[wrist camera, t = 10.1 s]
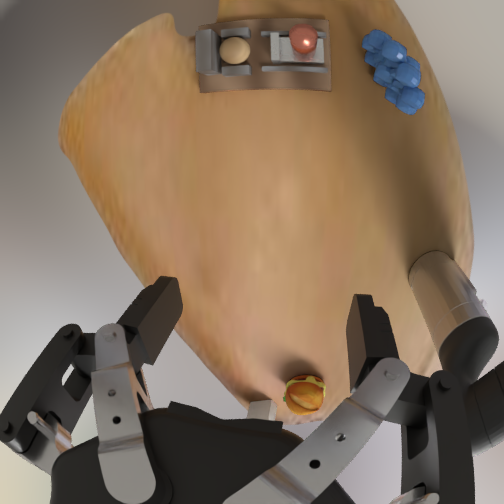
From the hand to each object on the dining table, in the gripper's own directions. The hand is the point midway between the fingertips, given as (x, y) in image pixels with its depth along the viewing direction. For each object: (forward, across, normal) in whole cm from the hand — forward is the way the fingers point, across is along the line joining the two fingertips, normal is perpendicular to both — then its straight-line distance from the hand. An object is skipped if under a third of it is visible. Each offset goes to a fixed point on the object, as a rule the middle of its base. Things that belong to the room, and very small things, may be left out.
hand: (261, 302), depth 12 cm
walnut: (+29, +7, -17) cm, 34 cm away
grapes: (+30, -13, -15) cm, 36 cm away
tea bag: (+30, +4, +63) cm, 70 cm away
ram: (+28, -1, -17) cm, 33 cm away
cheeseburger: (+30, -6, +50) cm, 59 cm away
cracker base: (+30, +4, -17) cm, 35 cm away
